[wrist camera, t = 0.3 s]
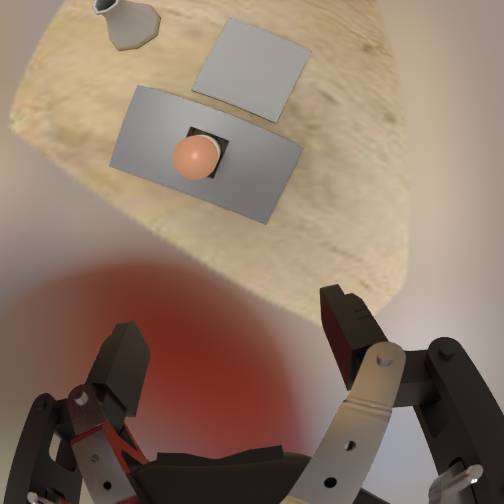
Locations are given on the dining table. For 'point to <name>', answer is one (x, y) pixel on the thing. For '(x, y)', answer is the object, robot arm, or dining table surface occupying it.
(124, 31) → the flask
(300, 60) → the mat
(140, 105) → the grey socket block
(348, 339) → the robot arm
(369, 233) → the dining table surface
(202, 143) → the plug
